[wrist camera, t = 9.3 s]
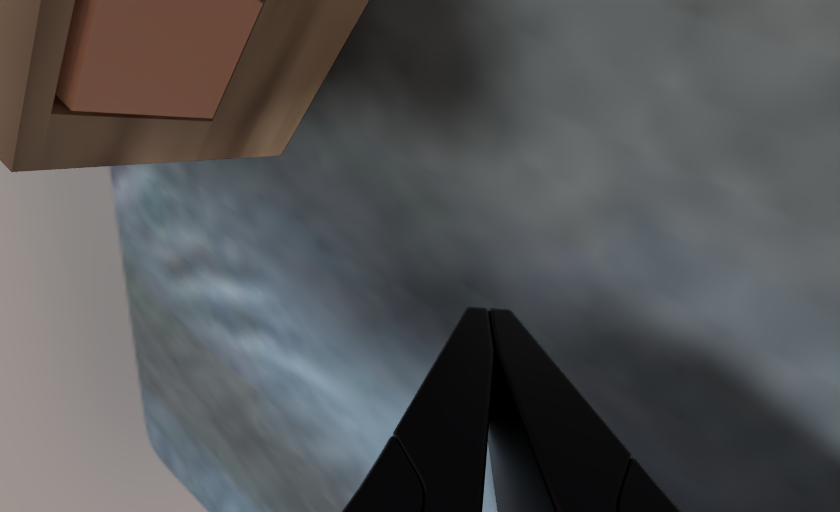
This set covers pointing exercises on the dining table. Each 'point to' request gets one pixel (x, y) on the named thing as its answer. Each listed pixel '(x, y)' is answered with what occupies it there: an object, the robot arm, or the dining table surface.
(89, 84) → the peg
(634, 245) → the dining table surface
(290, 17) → the sleeve block
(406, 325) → the dining table surface
